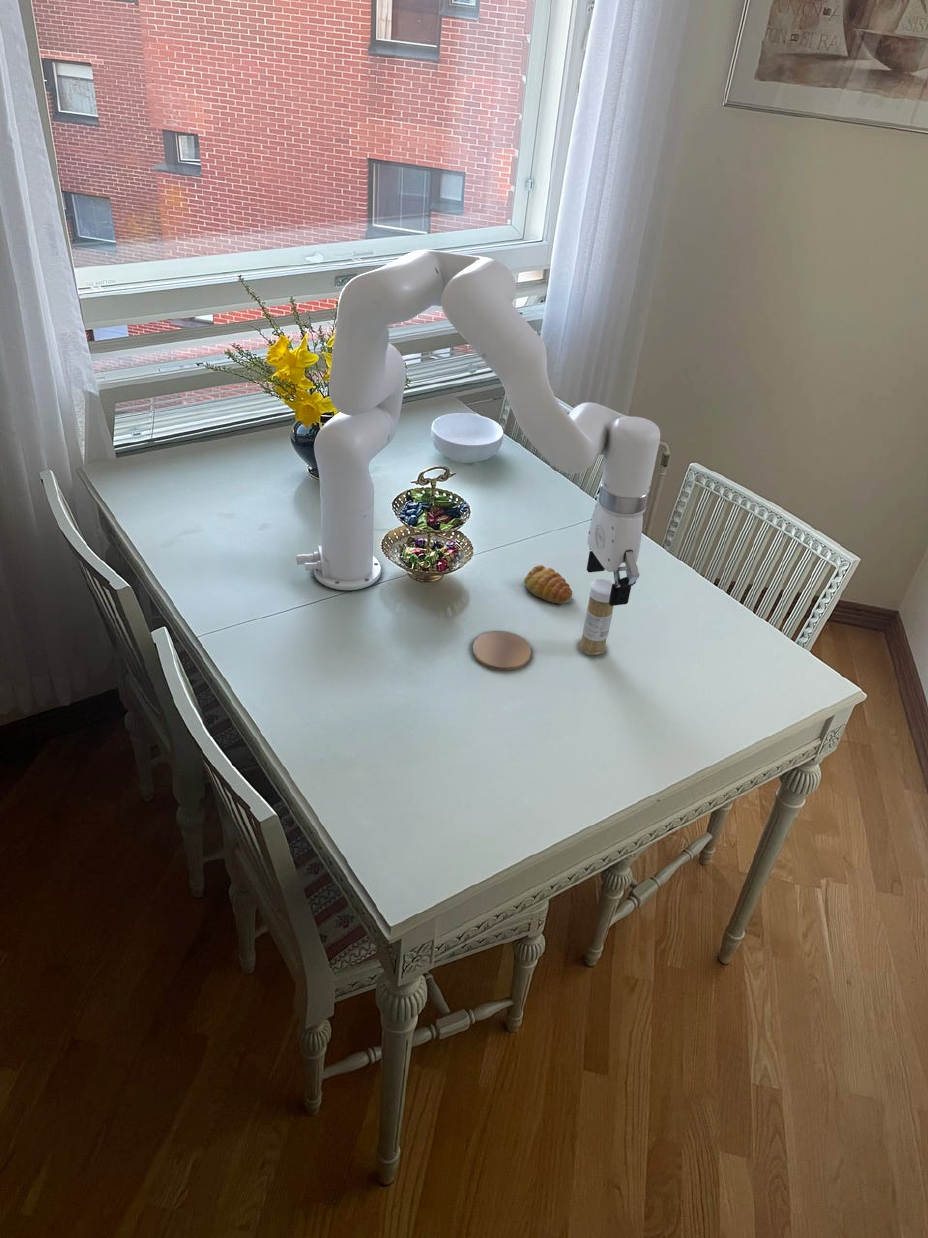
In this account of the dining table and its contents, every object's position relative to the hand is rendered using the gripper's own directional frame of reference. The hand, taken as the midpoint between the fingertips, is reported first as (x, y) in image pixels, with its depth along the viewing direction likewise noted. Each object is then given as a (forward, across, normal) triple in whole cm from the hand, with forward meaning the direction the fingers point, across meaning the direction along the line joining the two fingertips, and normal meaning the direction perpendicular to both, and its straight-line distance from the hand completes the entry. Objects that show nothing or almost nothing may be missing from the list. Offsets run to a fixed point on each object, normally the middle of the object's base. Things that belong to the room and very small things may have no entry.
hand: (606, 587), depth 154 cm
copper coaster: (+13, -2, -16) cm, 21 cm away
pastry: (+13, -18, -2) cm, 23 cm away
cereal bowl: (+13, -73, -3) cm, 74 cm away
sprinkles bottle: (+14, 0, 0) cm, 14 cm away
